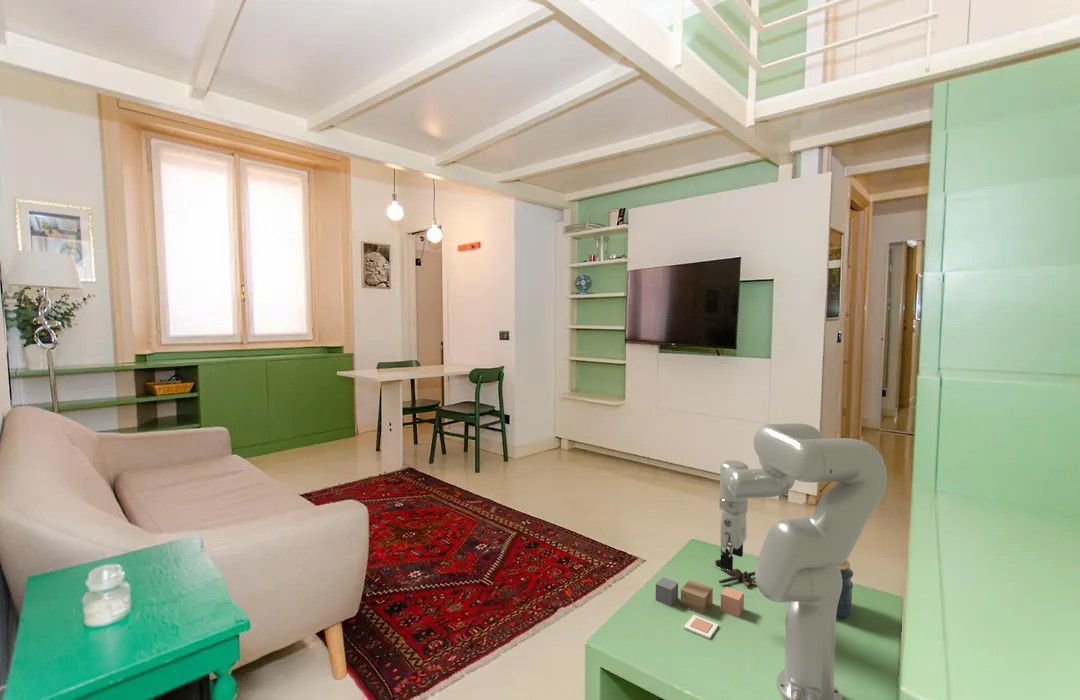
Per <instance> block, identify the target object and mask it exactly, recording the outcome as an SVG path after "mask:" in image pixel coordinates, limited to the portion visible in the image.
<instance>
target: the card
mask: <svg viewBox="0 0 1080 700" xmlns="http://www.w3.org/2000/svg"><path fill="white" fill-rule="evenodd" d="M719 626H720V625H719V623H716V622H713V621H712V620H708V619H705V618H704V617H701V616H698V615H696V614H692V616H691V617H690V619H688V621H687V622H686V623H685V625H684V626H683V629H684V630H685V629H686V631H688V630H689V632H690V631H691V632H690V633H693V632H694V633H693V634H695V633H696V635H697V634H699V635H698V636H700V635H701V636H700V637H702V636H703V638H705V639H707V640H711V638H712V637H713V636H714V634H715V632H716V631H717V630H718V628H719Z"/></svg>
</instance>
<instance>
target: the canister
mask: <svg viewBox="0 0 1080 700" xmlns="http://www.w3.org/2000/svg"><path fill="white" fill-rule="evenodd" d="M837 566H838V567H839V569H840V572H841V575H842V591H841V595H840V599H839V602H838V606H837V613H836V620H842V619H847V618H850V617H851V616H852V615H851V614H852V612H853V607H854V606H853V588H854V584H853V581H852V578H853V576H854V572H853V570H852V568H850V567H851V564H850V562H849V560H848V559H847V560H846V561H845V562H844V563H842V564H840V565H837Z"/></svg>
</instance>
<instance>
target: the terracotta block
mask: <svg viewBox="0 0 1080 700" xmlns="http://www.w3.org/2000/svg"><path fill="white" fill-rule="evenodd" d="M744 603H745V592H744V591H740V590H738V589H734V588H731V587H728V586H725V588H724V589H723V590H722V592H721V593H720V611H721V612H723V613H727V614H729V615H732V616H734V617H737V618H739V617H740V616H741V614H742V612H743V611H744V609H745V607H744V605H745V604H744Z"/></svg>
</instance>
